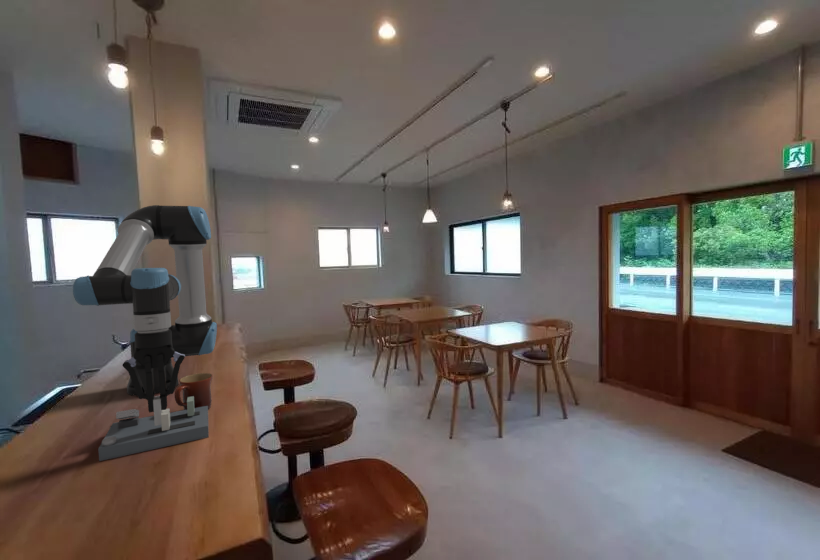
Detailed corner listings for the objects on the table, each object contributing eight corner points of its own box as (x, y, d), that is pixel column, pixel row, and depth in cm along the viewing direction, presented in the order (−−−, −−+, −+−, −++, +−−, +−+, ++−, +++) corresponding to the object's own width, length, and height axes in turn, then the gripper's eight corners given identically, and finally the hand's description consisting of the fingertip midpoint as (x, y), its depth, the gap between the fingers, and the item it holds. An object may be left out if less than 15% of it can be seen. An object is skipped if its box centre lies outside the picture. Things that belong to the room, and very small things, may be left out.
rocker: (122, 419, 98) (122, 412, 98) (139, 416, 100) (139, 409, 100) (116, 418, 91) (116, 411, 92) (133, 415, 93) (133, 408, 93)
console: (113, 434, 97) (112, 417, 97) (208, 415, 108) (207, 400, 108) (99, 461, 84) (97, 442, 84) (208, 437, 95) (207, 420, 95)
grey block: (188, 411, 103) (187, 397, 103) (194, 410, 104) (193, 396, 103) (187, 416, 99) (186, 402, 99) (194, 415, 100) (193, 400, 100)
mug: (196, 404, 117) (194, 372, 116) (220, 405, 115) (219, 373, 115) (164, 420, 105) (162, 385, 105) (190, 423, 103) (188, 387, 103)
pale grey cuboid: (163, 424, 95) (162, 409, 94) (170, 423, 95) (169, 408, 95) (161, 431, 91) (160, 415, 91) (169, 429, 92) (168, 413, 92)
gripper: (116, 336, 85) (123, 435, 86) (183, 329, 91) (188, 423, 92) (123, 330, 91) (129, 423, 93) (185, 325, 97) (189, 412, 99)
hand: (158, 423), depth 93 cm, fingers closed
